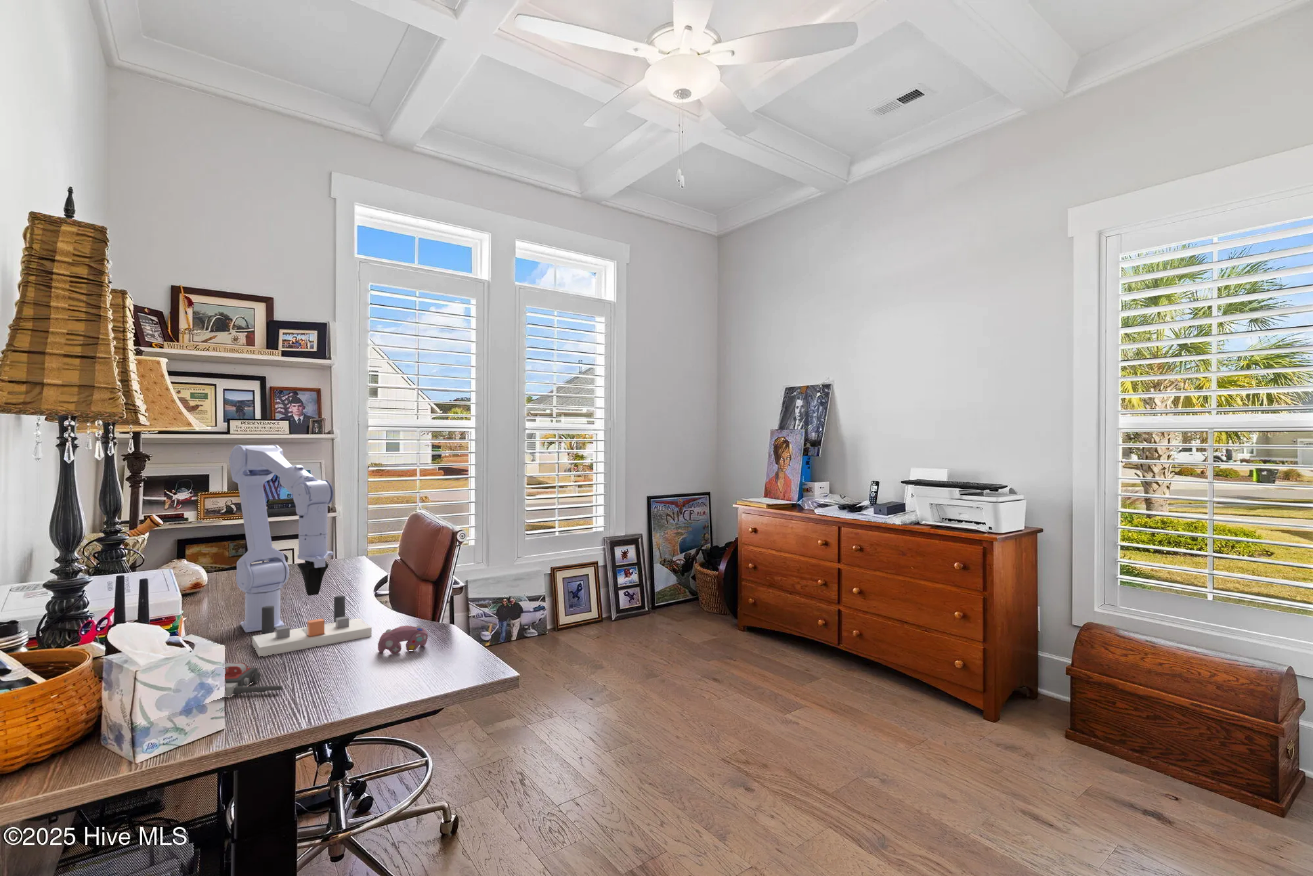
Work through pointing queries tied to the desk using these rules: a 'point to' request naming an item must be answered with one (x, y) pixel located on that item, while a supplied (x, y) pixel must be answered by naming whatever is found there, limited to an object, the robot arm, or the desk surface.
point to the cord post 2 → (339, 607)
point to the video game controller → (402, 638)
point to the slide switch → (315, 627)
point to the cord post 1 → (267, 619)
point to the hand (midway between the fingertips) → (312, 594)
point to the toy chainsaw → (244, 680)
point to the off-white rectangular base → (300, 640)
